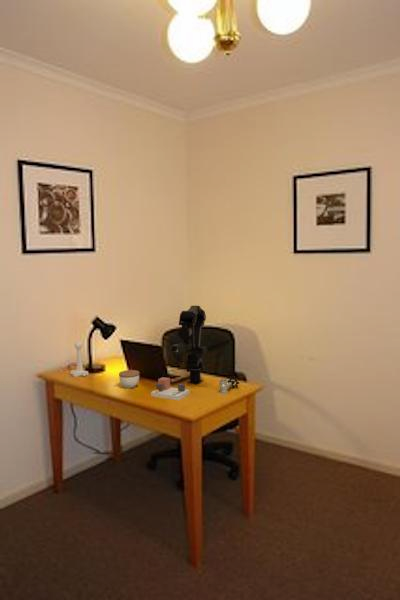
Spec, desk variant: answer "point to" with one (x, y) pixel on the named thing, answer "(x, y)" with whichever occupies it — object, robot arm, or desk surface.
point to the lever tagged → (159, 387)
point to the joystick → (79, 362)
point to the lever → (181, 387)
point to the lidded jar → (129, 378)
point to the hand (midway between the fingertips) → (189, 365)
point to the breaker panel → (170, 393)
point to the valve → (227, 384)
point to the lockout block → (164, 382)
